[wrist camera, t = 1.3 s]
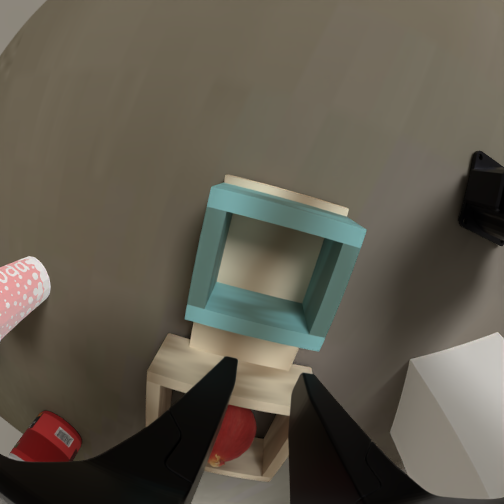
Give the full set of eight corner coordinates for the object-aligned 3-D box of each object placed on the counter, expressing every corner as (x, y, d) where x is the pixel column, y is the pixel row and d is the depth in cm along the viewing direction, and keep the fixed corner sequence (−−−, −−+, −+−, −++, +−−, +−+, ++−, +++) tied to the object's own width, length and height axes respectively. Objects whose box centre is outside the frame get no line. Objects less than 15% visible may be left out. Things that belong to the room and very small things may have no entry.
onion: (237, 424, 25) (228, 488, 17) (185, 400, 25) (164, 465, 17) (269, 393, 24) (268, 465, 16) (213, 365, 23) (194, 437, 15)
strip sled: (370, 215, 18) (401, 231, 14) (269, 445, 26) (269, 481, 21) (198, 167, 18) (175, 168, 13) (159, 419, 25) (146, 453, 21)
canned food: (36, 401, 28) (0, 447, 18) (79, 426, 28) (46, 480, 18) (47, 428, 30) (17, 471, 20) (86, 450, 31) (60, 499, 20)
